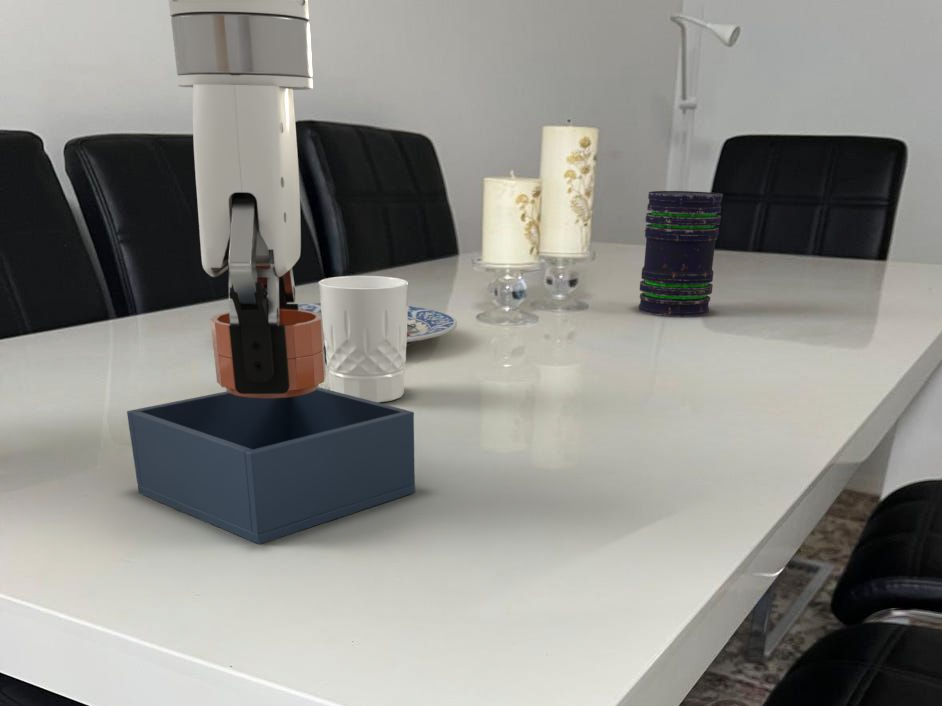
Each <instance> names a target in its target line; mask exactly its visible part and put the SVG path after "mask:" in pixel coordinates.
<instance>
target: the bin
mask: <svg viewBox="0 0 942 706" xmlns="http://www.w3.org/2000/svg"><path fill="white" fill-rule="evenodd" d="M126 416H127V422H128V429H129V435H130V442H131V449H132V456H133V465H134V470H135V477H136V478H135V479H136V484H137V491H138V494H140V495H142V496H145V497H147V498H150V499H151V500H154V501H156V502H158V503H161V504H163V505H166V506H168V507H169V508H172V509H175V510H177V511H181V512H182V513H185V514H186V515H189V516H191V517H194V518H197V519H199V520H201V521H203V522H206V523H208V524H210V525H212V526H215V527H218V528H220V529H223V530H225V531H227V532H229V533H231V534H232V533H233V534H234V535H237V536H239V537H241V538H244V539H246V540H248V541H251V542H253V543H256V544H258V545H261V544H264V543H266V542H269V541H273V540H276V539H279V538H282V537H284V536H285V537H286V536H288V535H292V534H294V533H298V532H300V531H303V530H307V529H309V528H313V527H315V526H318V525H322V524H324V523H327V522H330V521H334V520H337V519H340V518H342V517H345V516H348V515H351V514H355V513H358V512H361V511H364V510H367V509H369V508H372V507H375V506H378V505H382V504H385V503H388V502H391V501H394V500H397V499H400V498H403V497H406V496H409V495H411V494H415V492H416V485H415V484H416V483H415V478H416V477H415V412H414V411H411V410H408V409H404V408H400V407H396V406H392V405H388V404H385V403H382V402H379V403H377V402H373V401H369V400H366V399H362V398H358V397H354V396H350V395H346V394H343V393H339V392H335V391H331V390H330V389H327V388H323V387H320V386H319V387H318V389H317V390H315V391H313V392H311V393H308V394H305V395H300V396H295V397H288V398H274V399H259V398H247V397H240V396H236V395H233V394H230V393H229V392H227V390H225V391H221V392H217V393H210V394H206V395H201V396H196V397H190V398H186V399H180V400H176V401H171V402H165V403H160V404H157V405H151V406H147V407H141V408H135V409H130V410H127V411H126Z"/></svg>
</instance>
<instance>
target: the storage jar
mask: <svg viewBox="0 0 942 706" xmlns="http://www.w3.org/2000/svg"><path fill="white" fill-rule="evenodd" d="M723 195H724V194H723V193H719V192H711V191H710V192H709V191H695V190H693V191H690V190H654V191H648V197H647V199H648V203H647V206H646V207H647V208H646V209H647V210H646V211H648V212H646V213H645V223H647V224H645V230H644V232H645V233H644V237H645V250H644V251H645V252H644V261H643V267H642V268H641V275H640V276H641V277H640V278H641V279H642V280H640V281H639V292H641V293H639V299H640V301H639V302H640V303H639V304H638V311H639V312H640V313H644V314H647V315H652V316H653V315H654V316H659V317H660V316H661V317H669V318H671V317H673V318H693V317H703V316H706V315H708V314H709V313H710V307H709V303H710V301H711V296H709V295H711V294H713V286H714V285H713V284H712V282H713V280H714V270H713V264H714V257H715V248H716V241H717V240H718V237H719V234H720V233H719V229H720V228H719V227H718V225H719V226H720V225H721V217H722V215H720V213H721V210H722V206H721V203H722V201H723V197H724V196H723Z"/></svg>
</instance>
